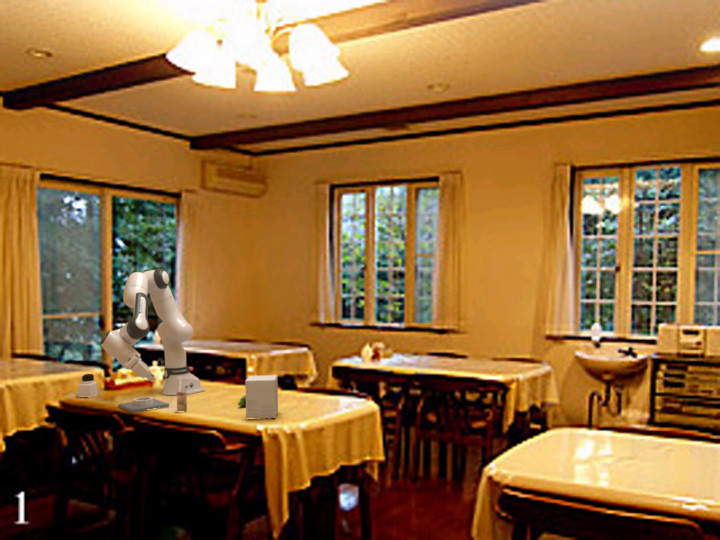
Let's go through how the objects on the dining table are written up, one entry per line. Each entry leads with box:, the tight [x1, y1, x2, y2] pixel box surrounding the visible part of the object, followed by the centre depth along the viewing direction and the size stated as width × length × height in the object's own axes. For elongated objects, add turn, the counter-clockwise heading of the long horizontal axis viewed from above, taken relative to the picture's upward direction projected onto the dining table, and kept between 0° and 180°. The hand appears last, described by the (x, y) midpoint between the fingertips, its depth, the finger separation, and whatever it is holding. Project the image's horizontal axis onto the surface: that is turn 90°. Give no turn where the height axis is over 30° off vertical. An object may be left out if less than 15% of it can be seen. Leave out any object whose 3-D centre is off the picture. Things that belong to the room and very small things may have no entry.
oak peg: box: [176, 392, 188, 412], centre depth 299 cm, size 4×4×9 cm
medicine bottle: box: [77, 373, 98, 397], centre depth 338 cm, size 7×7×12 cm
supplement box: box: [244, 374, 279, 419], centre depth 288 cm, size 13×13×18 cm
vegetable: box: [237, 394, 246, 408], centre depth 313 cm, size 7×7×20 cm
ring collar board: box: [117, 396, 170, 414], centre depth 311 cm, size 18×18×4 cm
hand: (153, 379), depth 295 cm, fingers open, 8 cm apart
